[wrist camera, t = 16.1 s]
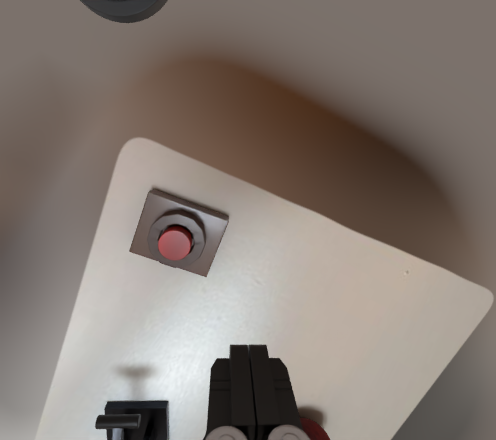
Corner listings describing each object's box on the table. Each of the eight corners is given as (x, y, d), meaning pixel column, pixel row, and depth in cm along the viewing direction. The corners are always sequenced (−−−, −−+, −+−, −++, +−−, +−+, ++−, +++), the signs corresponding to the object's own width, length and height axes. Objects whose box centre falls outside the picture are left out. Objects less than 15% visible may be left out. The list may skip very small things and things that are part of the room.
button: (157, 248, 35) (153, 254, 33) (166, 221, 34) (163, 225, 33) (186, 258, 36) (184, 264, 34) (196, 232, 35) (195, 236, 33)
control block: (134, 245, 39) (124, 257, 35) (153, 188, 37) (144, 194, 33) (207, 269, 40) (205, 284, 36) (228, 216, 38) (228, 225, 35)
